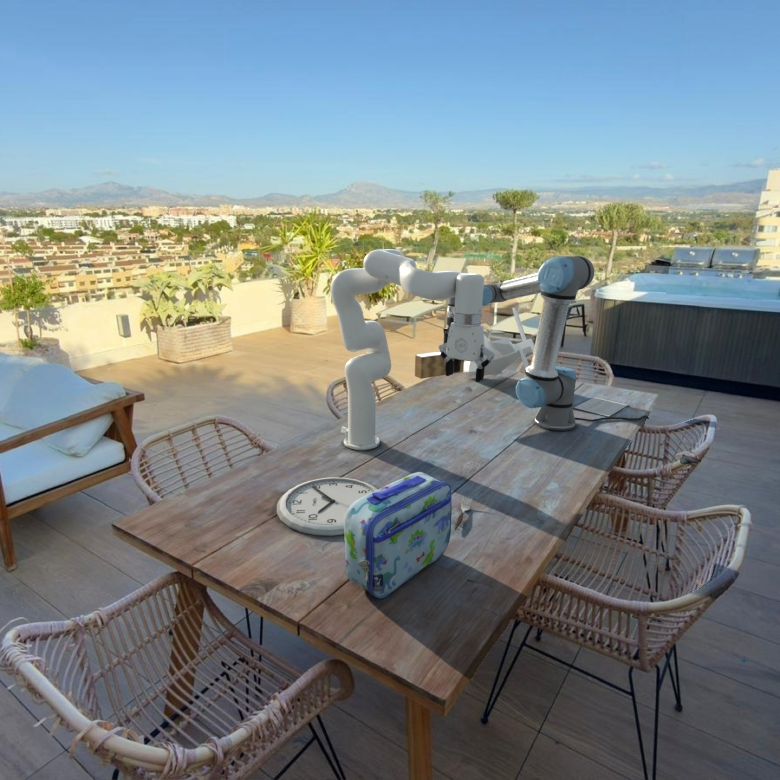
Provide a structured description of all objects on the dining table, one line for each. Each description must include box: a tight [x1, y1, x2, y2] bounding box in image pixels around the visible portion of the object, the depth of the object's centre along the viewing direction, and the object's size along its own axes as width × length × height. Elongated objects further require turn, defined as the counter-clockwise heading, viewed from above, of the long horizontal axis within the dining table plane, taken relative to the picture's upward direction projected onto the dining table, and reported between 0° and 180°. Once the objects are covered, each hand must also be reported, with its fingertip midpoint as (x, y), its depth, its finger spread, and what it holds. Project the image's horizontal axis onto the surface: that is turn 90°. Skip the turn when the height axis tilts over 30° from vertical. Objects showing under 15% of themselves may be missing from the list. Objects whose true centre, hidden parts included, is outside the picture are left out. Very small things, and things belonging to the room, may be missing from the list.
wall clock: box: [276, 476, 379, 537], centre depth 142 cm, size 30×2×30 cm
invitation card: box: [573, 396, 629, 417], centre depth 226 cm, size 21×1×15 cm
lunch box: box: [343, 471, 453, 599], centre depth 113 cm, size 26×11×21 cm, turn 134°
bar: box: [414, 351, 465, 380], centre depth 219 cm, size 22×5×9 cm, turn 121°
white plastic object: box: [462, 307, 535, 378], centre depth 258 cm, size 37×45×31 cm
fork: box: [454, 495, 473, 531], centre depth 138 cm, size 3×16×2 cm, turn 160°
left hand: (463, 378), depth 151 cm, fingers open, 9 cm apart
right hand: (452, 370), depth 224 cm, fingers closed on bar, 5 cm apart
